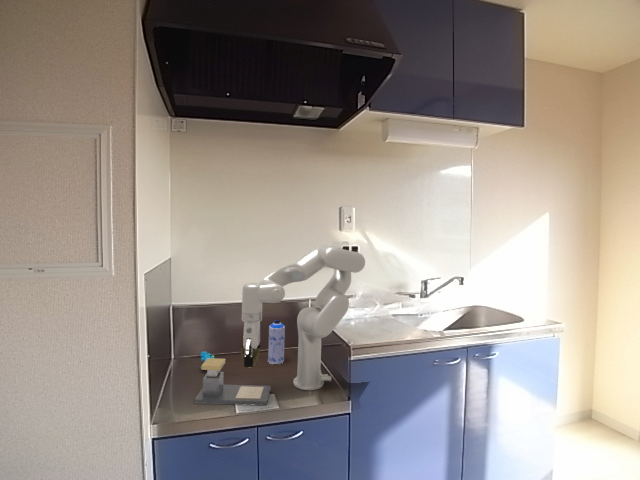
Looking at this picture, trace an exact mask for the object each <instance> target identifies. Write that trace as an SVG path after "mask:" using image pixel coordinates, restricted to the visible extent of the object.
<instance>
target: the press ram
mask: <svg viewBox="0 0 640 480" xmlns="http://www.w3.org/2000/svg"><path fill="white" fill-rule="evenodd" d="M225 364H226V358H215V357H214V358H207V359H206V360H205V361H203V363H202V364H201V366H200V367H201V368H200V370H203V371H204V370H205V371H206V373H207V377H208V378H218V377H219V375H220V372H221V370H222V369H223V367H224V365H225Z"/></svg>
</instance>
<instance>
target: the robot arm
mask: <svg viewBox="0 0 640 480" xmlns="http://www.w3.org/2000/svg"><path fill="white" fill-rule="evenodd" d="M365 265H366V259H365V256H364V255H363V254H362V253H360V252H358V251H353V250H347V249H343V248H339V247H335V246H329V245H319V246H317V247H315V248H314V249H312V250H310V251H309V252H307V254H305V255H304V256H302V257H300V258H299V259H297V260H296V261H295V262H293V263H291V264H287V265H286V266H284V267H281V268H279V269H277V270H274V271H273V272H272V273H270V274H268V275H267V276H266V277H264V278H263V279H262V280H261V281H260V282H248V283H247V282H246V283H244V284H243V285H242V292H241V296H242V298H241V299H242V300H241V321H242V322H243V336H242V337H243V338H242V339H243V342H242V346H243V348H244V349H245V356H244V361H243V367H244V368H248V367H252V368H254V367H253V348H255V349H256V348H257V347H258V345H260V342H261V322H262V321H263V303H265V304H266V303H268V304H277V303H281V302H282V301H283V299H284V298H285V295H286V291H285V288H284V287H285V286H288V285H289V284H292V283H300V282H304V281H307V280H309V279H310V278H311V277H313V276H314V275H315V274H316V273H318V272H320V271H321V270H322V269H324V268H329V269H333V275H332V276H331V278H330V279H329V281H328V282H327V283H326V284H325V286H324V287H323V288H322V289H321V291H319V292H318V294H317V296H316V298H315V304H316V306H317V307H318V308H319V309H320V310H318V309H316V308H315V307H309V306H308V307H305V308H302V309H301V310H300V311H299V313H298V315H297V318H296V325H297V326H296V327H297V334H298V345H297V346H298V347H297V371H296V373H297V375H296V377H294V378H293V386H294V387H296V388H297V389H299V390H302V391H315V390H319V389H321V388H322V387H323V386H324V384H325V382H331V381H332V375H329V374H328V373H327V374H326V373H325V374H323V373H322V370H321V365H322V359H321V358H322V339H324V338H326V337H328V336H329V335H330V334H331V333H332V332H333V330H334V329H336V327H337V325H338V324H339V323H340V322H341V321H342V319H343V318H344V317H345V315H346V314H347V312H348V309H349V306H350V302H349V301H350V300H349V298H348V296H347V295H346V292H347V291H348V290H349V288H350V286H351V283H352V273H353V274H355V273H360V272H362V271H363V269H364V268H365ZM250 346H252V348H250ZM250 350H251V352H250Z"/></svg>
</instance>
